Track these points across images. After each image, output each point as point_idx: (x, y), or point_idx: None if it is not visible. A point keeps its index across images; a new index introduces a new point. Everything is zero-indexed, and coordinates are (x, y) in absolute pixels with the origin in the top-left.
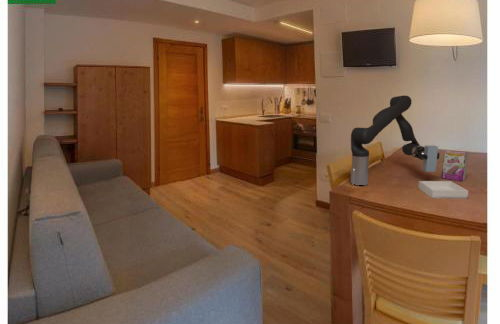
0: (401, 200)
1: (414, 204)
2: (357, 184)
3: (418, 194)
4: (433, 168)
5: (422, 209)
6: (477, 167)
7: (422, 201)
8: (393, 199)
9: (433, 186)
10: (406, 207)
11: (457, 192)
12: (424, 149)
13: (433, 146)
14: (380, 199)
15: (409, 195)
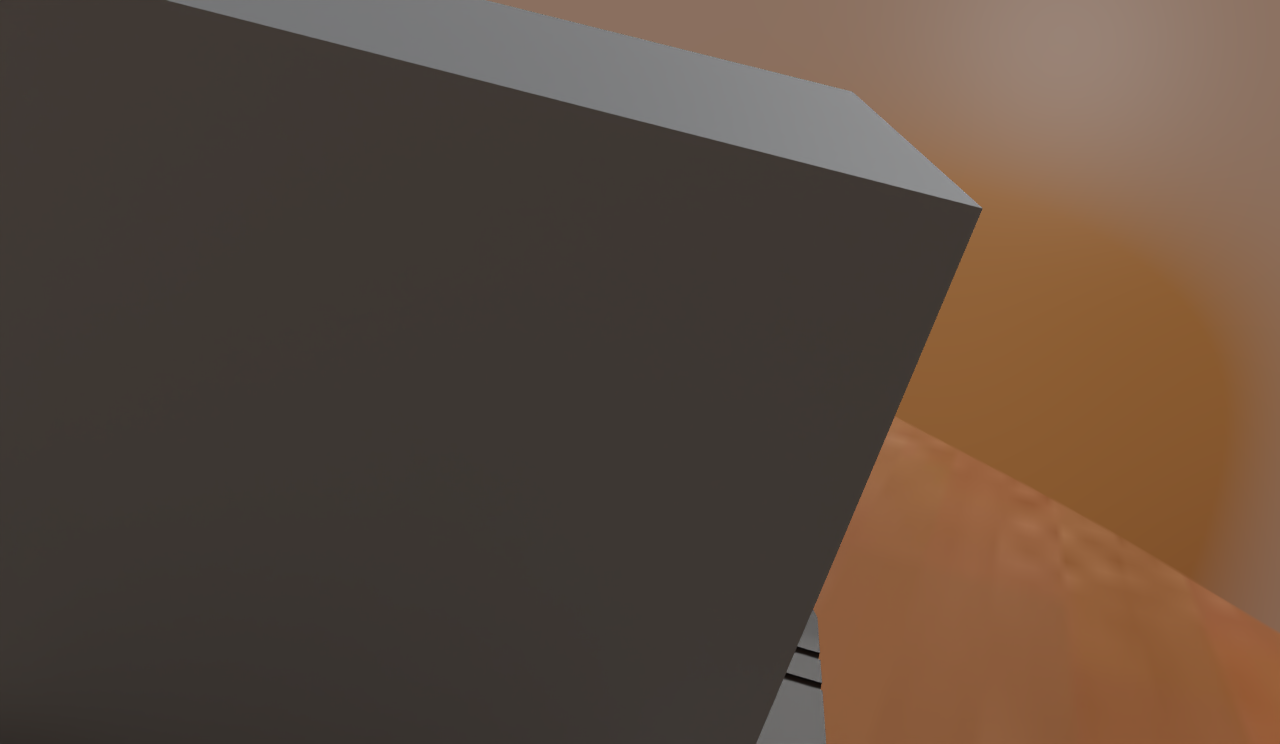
0: (1048, 586)
1: (950, 503)
2: None
3: (856, 669)
4: None
5: (913, 443)
6: None
7: (874, 524)
8: (1122, 623)
9: None
10: (1011, 487)
11: None
12: (789, 638)
13: (462, 4)
14: (1242, 654)
15: (964, 670)
